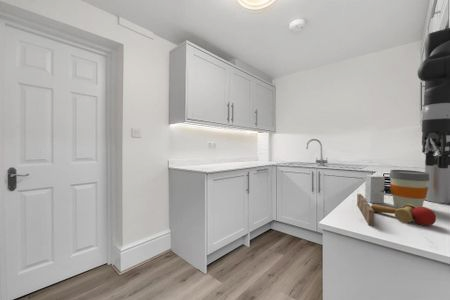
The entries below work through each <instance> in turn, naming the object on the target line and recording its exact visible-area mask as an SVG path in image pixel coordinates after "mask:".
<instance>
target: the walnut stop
mask: <svg viewBox="0 0 450 300" xmlns="http://www.w3.org/2000/svg"><path fill="white" fill-rule="evenodd" d="M356 206H357V207H358V209H359V211H360V212H361V214H362V216H363V218H364V220H365V221H366V223H367V225H368V226H371V227H374V226H375V225H374V224H375V212H374V210H373V209H372V207H371V205H370V204H369V202H367V201H366V200H365V196H363V195H362V193H357V195H356Z"/></svg>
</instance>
